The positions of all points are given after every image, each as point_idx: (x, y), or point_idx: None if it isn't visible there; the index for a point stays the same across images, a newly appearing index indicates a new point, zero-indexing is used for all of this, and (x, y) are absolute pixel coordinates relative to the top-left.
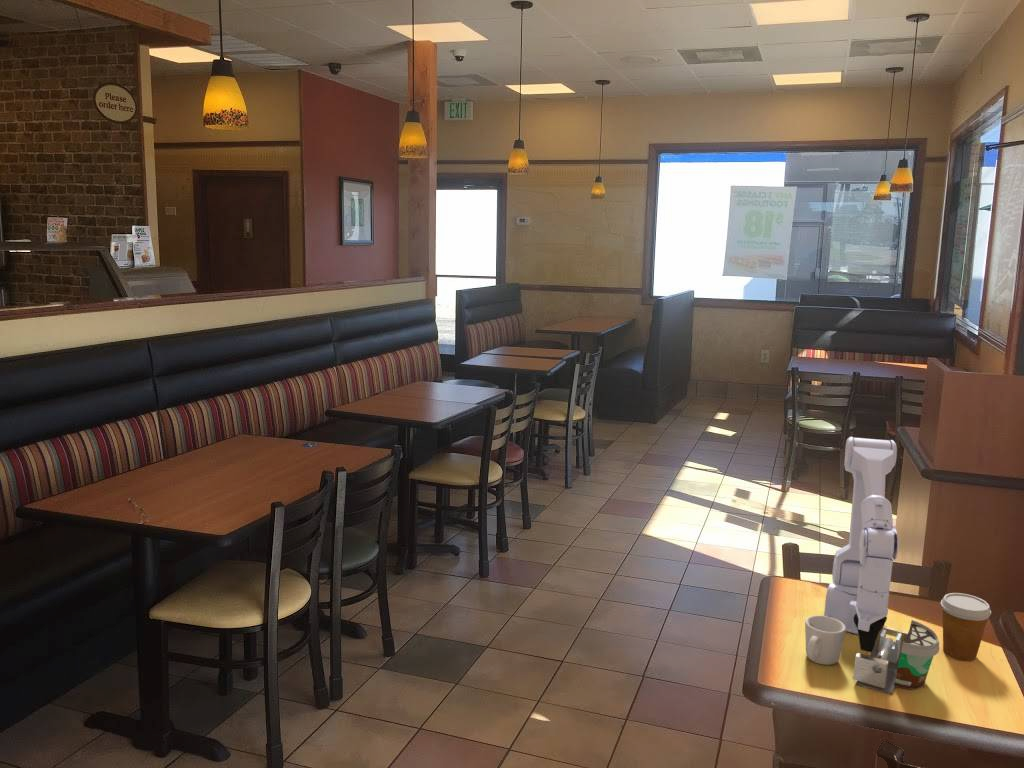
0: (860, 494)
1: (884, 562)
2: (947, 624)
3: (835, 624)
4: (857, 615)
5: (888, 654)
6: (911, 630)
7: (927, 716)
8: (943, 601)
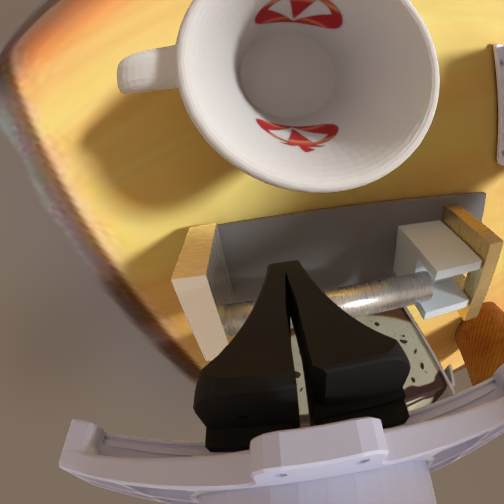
0: None
1: None
2: (498, 363)
3: (403, 106)
4: (135, 462)
5: None
6: None
7: (197, 364)
8: None
